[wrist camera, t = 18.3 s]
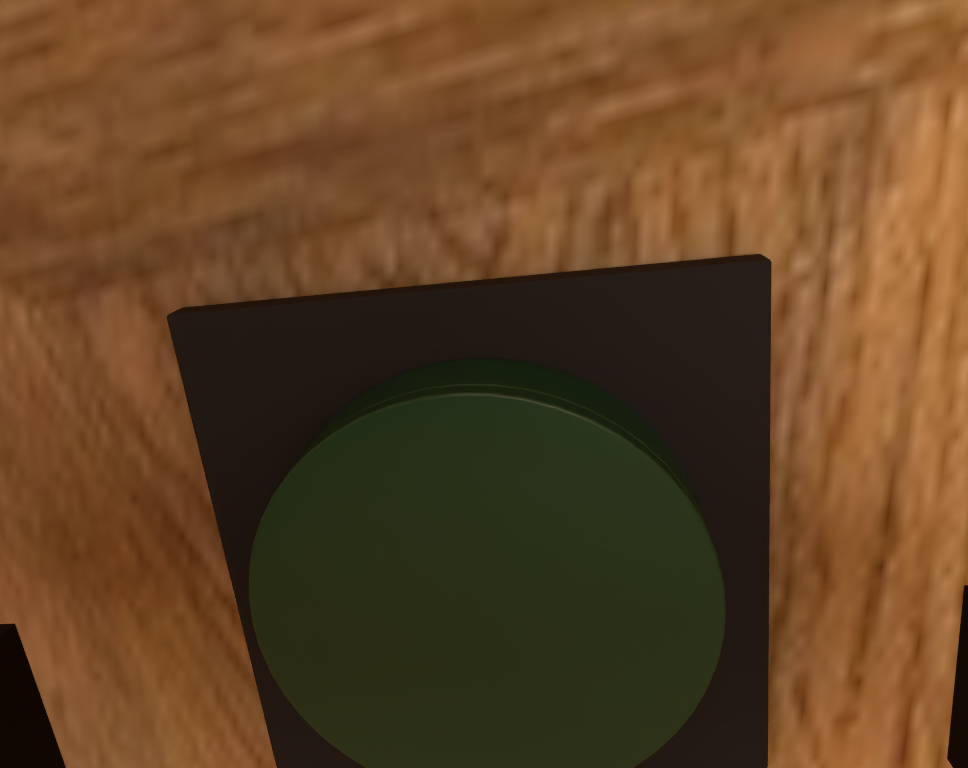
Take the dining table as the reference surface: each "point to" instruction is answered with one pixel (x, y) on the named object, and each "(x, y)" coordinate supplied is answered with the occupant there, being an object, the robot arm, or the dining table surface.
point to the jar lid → (488, 576)
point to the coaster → (526, 338)
